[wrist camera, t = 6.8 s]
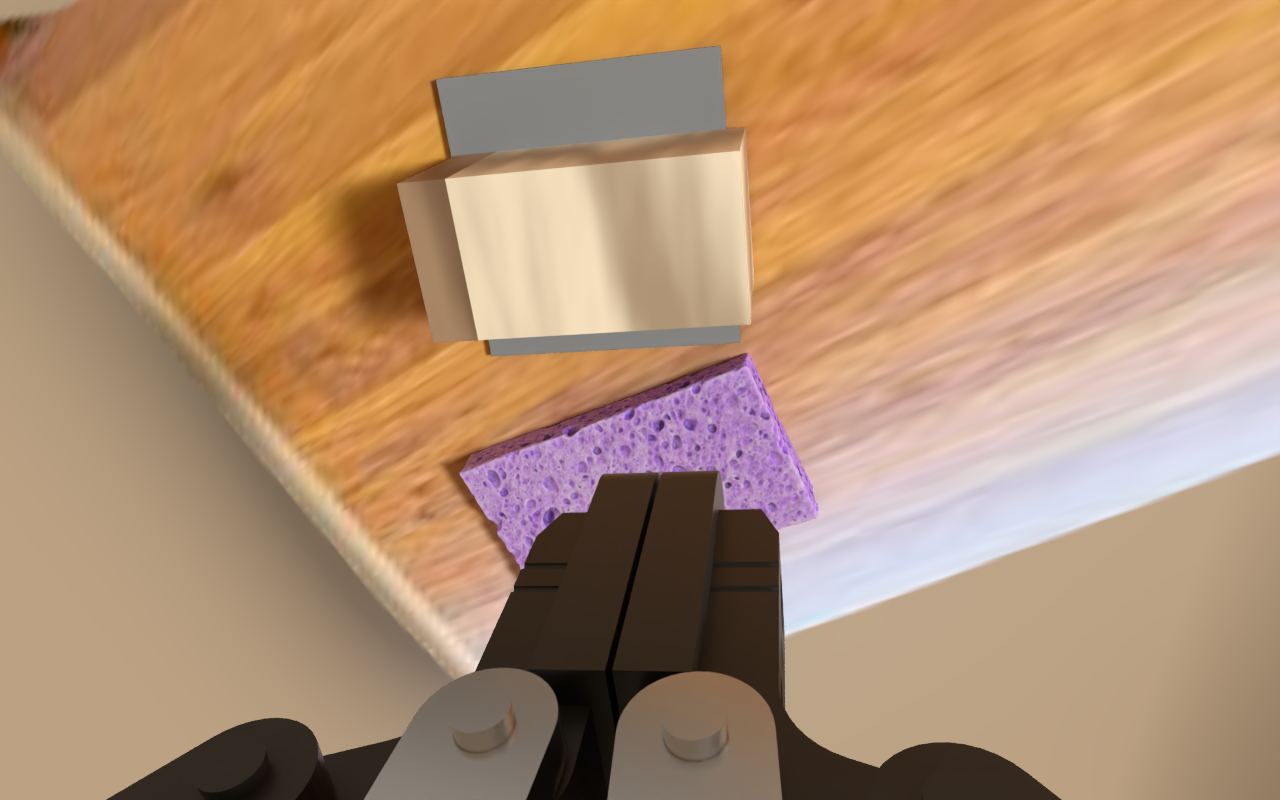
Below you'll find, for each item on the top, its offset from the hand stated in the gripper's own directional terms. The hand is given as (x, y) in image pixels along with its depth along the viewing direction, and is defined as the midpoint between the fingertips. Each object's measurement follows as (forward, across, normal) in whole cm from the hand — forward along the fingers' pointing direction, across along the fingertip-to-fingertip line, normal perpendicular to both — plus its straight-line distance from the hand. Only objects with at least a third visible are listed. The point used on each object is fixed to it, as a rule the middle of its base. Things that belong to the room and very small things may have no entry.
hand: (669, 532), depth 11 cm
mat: (+20, +5, 0) cm, 20 cm away
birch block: (+17, 0, 0) cm, 17 cm away
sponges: (+20, +5, +11) cm, 23 cm away
